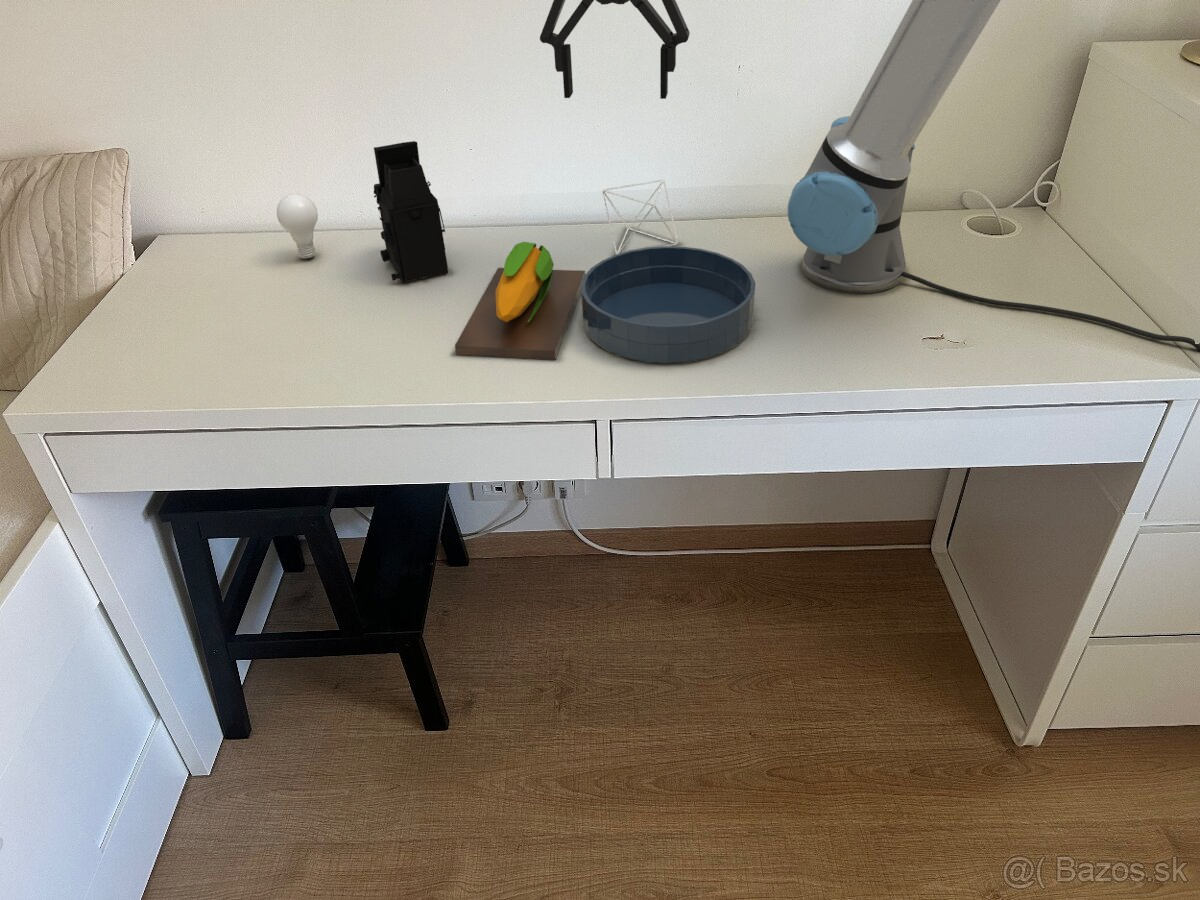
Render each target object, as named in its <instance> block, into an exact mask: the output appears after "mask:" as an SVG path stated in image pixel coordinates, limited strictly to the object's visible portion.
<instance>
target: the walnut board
mask: <svg viewBox="0 0 1200 900" xmlns="http://www.w3.org/2000/svg"><path fill="white" fill-rule="evenodd" d="M503 271H504V267H497V268H496V271H495V272H494V274H493V276H492V277H491V279H490V281H489V283H488V285H487V286H486V288H485V290H484V292H483V293H482V296H481V297H480V299H479V301H478V303H477V305H476V307H475V309H474V310H473V312H472V314H471V316H470V318H469V319H468V321H467V322H466V325H465V326H464V328H463V330H462V332H461V334H460V336H459V337H458V339H457V341H456V343H455V344H454V349H455V354H456V356H470V357H471V356H472V357H493V358H512V359H529V360H530V359H531V360H551V361H555V360H557V357H558V354H559V351H560V349H561V346H562V344H563V341H564V339H565V336H566V333H567V329H569V325H570V322H571V320H572V317H573V314H574V311H575V309H576V306H577V305H578V304H577V303H578V300H579V298H580V296H581V283H582V280H583V278H584V275H585V274H586V270H574V269H572V270H571V269H552V272H553V273H552V278H551V283H550V288H549V290H548V292H547V294H546V296H545V297H544V299H543V301H542V303H541V305H540V307H539V309H538V311H537V313H536V314H535V315H534V316H533V318H532V319H531V320H530V321H529V322H528V320H529V319H530V317H531V315H532V313H533V310H534V308H535V305H536V302H537V299H538V297H539V294H540V291H541V288H542V286H541V288H540V290H539V292H538V293H537V295H536V297H535V299H534V300H533V301H532V303H531V304H530V305H529V306H528V307H527V308H526V310H525V311H524V312H523V313H522V314H521V315H520V316H518V317H516V318H514V319H512V320H510V321H508V322H505V321H503V320H501V319H499V318H498V317H497V314H496V289H497V286H498V284H499V281H500V279H501V276H502V274H503Z"/></svg>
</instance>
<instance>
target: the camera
mask: <svg viewBox="0 0 1200 900" xmlns="http://www.w3.org/2000/svg"><path fill="white" fill-rule="evenodd" d="M373 153H374V158H375V165H376V170H377V176H378V177H377V178H378V183H374V184H373V198H376V204H377V205H378V206H377V210H378V212H379V214H380V216H379V220H380V221H381V226H382V231H381V232H380V238H381V239H382V240H383V241H384V245H385V249H382V250H380V251H379V252H380V257H381V260H382V262H383V263H387V262H389V263H390V264H391V266H392V267H393V269H394V271H395V272H396V273H395V272H394V273H391V275H390V276H391V279H392V281H396V280H399V279H400V282H401V284H402V283H403V284H404V283H409V282H412V281H417V280H421V279H425V278H430V277H434V276H439V275H443V274H448V273H449V267H448V260H447V253H446V245H445V240H444V233H446V228H445V224H444V220H443V216H442V211H441V207H440V206H439V202H438V201H439V199H437V198H436V196H435V195H434V194H433V193H432V191H431V189H430V186H432V184H431V182H430V181H429V180H427V179H426V178H427V177H426V175H425V172H424V169H423V166H422V164H420V163H421V162H420V153H419V147H418V141H415V140H412V141H404V142H399V143H393V144H387V145H382V146H375V147H373Z"/></svg>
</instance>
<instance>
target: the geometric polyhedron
mask: <svg viewBox="0 0 1200 900" xmlns="http://www.w3.org/2000/svg"><path fill="white" fill-rule="evenodd" d="M653 183H660V184H659V185H658V186H657V188H656V189H655V190H654V192H653V193H652V194H651V196H650V197H649V198H648V200H647V201H645V200H639V199H637V198H634V197H630V196H626V195H623V194H619V193H616V192H613V191H612V190H617V189H623V188H624V189H625V188H630V187H635V186H641V185H647V184H648V185H649V184H653ZM663 186H664V192H665V196H666V201H667V205H668V209H669V214H670V219H671V223H672V224H671V225H672V228H673V232H672V231H671V229H670V228H669V226H668V224H667V223H666V221H665V219H664V218H663V216H662V214H661V212H660V211H659V209H658V207H657V206H656V203H657V201H658V199H659V196H660V193H661V190H662V188H663ZM667 189H668V188H667V185H666V180H665V179H659V180H653V181H646V182H641V183H640V182H639V183H634V184H628V185H622V186H615V187H611V188H604V189H602V192H601V193H602V196H603V201H604V206H605V212H606V216H607V220H608V225H609V229H610V235H611V237H612V238H611V239H612V243H613V247H614V251H615V255H616V254H619V253H621V251H622V250H623V249H624V248H625V246H626V244H627V243H628V242H629V240H630V239H632V237H633V235H634V234H635V233H639V234H643V235H645V236H649V237H652V238H655V239H658V240H661V241H664V242H668V243H670V244H666V245H664V246H677V245H678V244H679V240H678V237H677V232H676V231H677V230H676V227H675V222H674V217H673V213H672V207H671V204H670V199H669V194H668V190H667ZM610 190H611V191H610ZM657 191H658V192H657ZM607 193H608V194H611V195H615V196H618V197H620V198H625V199H628V200H631V201H635V202H638V203H641V204H644V205H643V206H642V208H641V209H640V211H638V213H637V215H636V216H635V218H634V219H633V220H632V221H631V222H630V224H629V226H628V224H627V223H626V221H625V220H624V219H623V216H622V215H621V214H620V213H619V210H618V209H617V208H616V206H615V205H614V204H613V202H612V200H611V199H610V197H609V196H608V195H607ZM656 193H657V195H656V196H655V199H654V202H653V203H650V201H651V199H653V197H654V195H655V194H656ZM607 200H608V202H609V203H610V205H611V206H612V208H613V210H614V211H615V212H616V214H617V215H618V217H619V218H620V219H621V221H622V223H623V224H624V226H625V228H626V230H625V233H624V236H623V238H622V239H621V242H620V245H619V247H618V249H617V246H616V242H615V237H614V232H613V227H612V222H611V218H610V214H609V209H608V204H607ZM647 205H648V206H651V207H650V208H649V210H648V211H647V213H646V214H645V216H644V217H643V218H642V220H641V221H640V222H639V224H638V225H636V228H635V229H634V228H631V227H632V225H633V224H634V222H635V221H636V220H637V218H638V217H639V216H640V214H641V213H642V212H643V210H644V209H645V208H646V207H647ZM653 209H655V212H656V213H657V214H658V216H659V218H660V219H661V222H662V223H663V224H664V226H665V227H666V229H667V231H668V232H669V234H670V236H671V237H672V239H673V240H674V241H673V240H669V239H666V238H663V237H660V236H657V235H653V234H650V233H648V232H644V231H641V230H638V229H639V227H640V226H641V224H642V223H643V222H644V221H645V219H646V218H647V217H648V215H649V214H650V213H651V211H652V210H653ZM629 231H633V232H632V233H631V234H630V235H629V236H628V238H627V240H626V241H625V239H626V236H627V235H628V232H629ZM624 241H625V242H624ZM623 243H624V244H623ZM662 246H663V245H661V246H659V247H662Z"/></svg>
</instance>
